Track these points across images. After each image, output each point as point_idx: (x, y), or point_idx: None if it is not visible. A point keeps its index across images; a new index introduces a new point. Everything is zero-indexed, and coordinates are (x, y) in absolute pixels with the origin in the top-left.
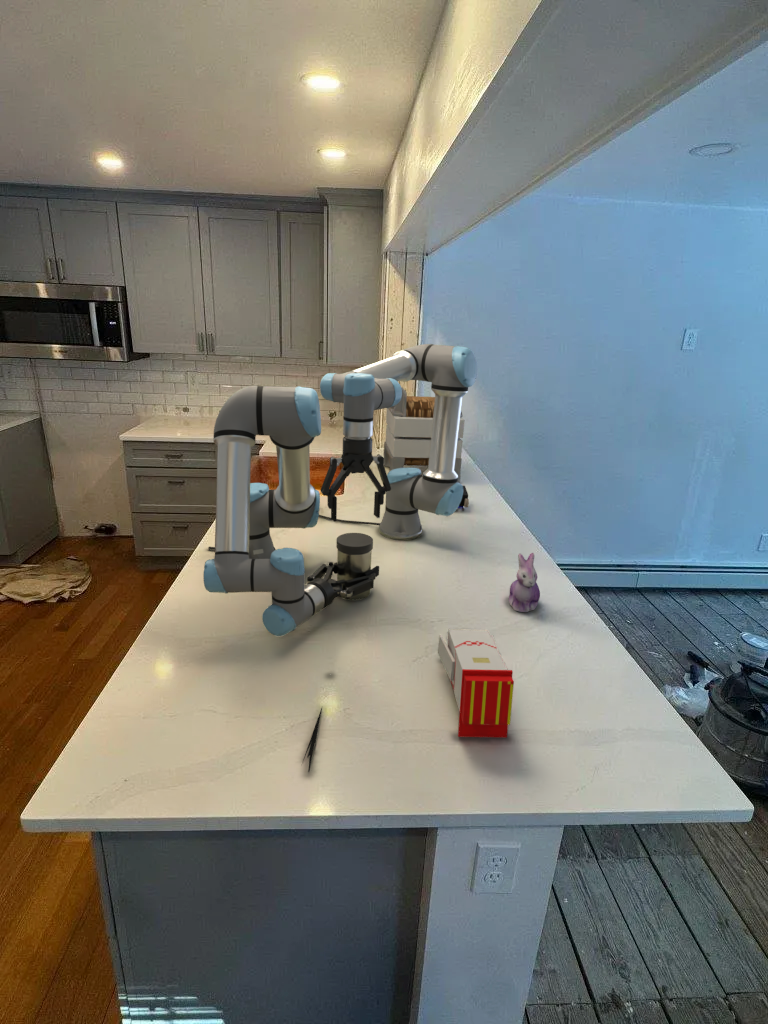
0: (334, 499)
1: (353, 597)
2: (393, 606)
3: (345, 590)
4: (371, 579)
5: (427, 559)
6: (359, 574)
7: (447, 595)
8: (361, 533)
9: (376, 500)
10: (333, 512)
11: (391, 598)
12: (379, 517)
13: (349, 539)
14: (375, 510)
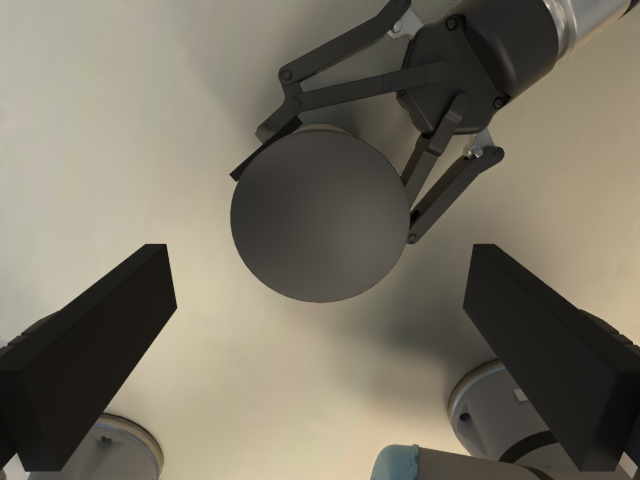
0: (631, 355)
1: (334, 126)
2: (228, 53)
3: (402, 30)
4: (287, 71)
5: (62, 305)
6: (318, 128)
7: (41, 75)
8: (267, 285)
9: (96, 348)
10: (531, 281)
11: (221, 106)
12: (146, 244)
13: (345, 231)
14: (153, 301)
